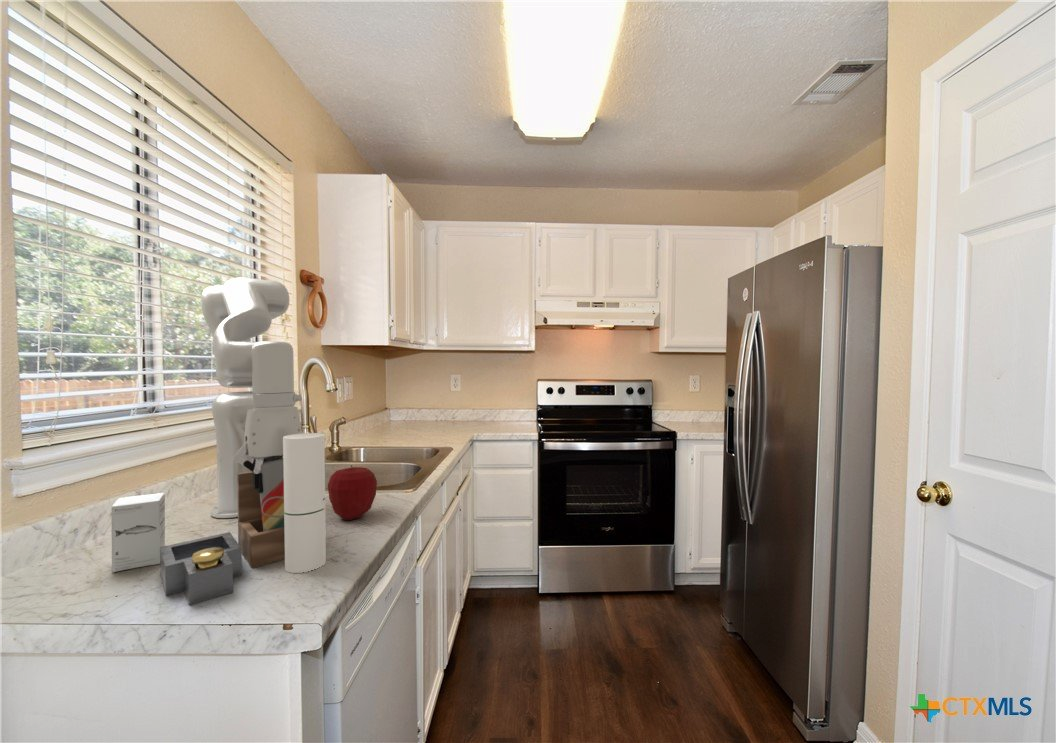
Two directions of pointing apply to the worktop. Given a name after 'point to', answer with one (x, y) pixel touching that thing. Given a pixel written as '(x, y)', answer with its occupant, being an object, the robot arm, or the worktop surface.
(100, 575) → the worktop surface
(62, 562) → the worktop surface
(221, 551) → the pin
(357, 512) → the apple
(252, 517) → the rack
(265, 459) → the lotion bottle
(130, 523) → the supplement box
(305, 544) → the cylindrical container
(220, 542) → the socket
